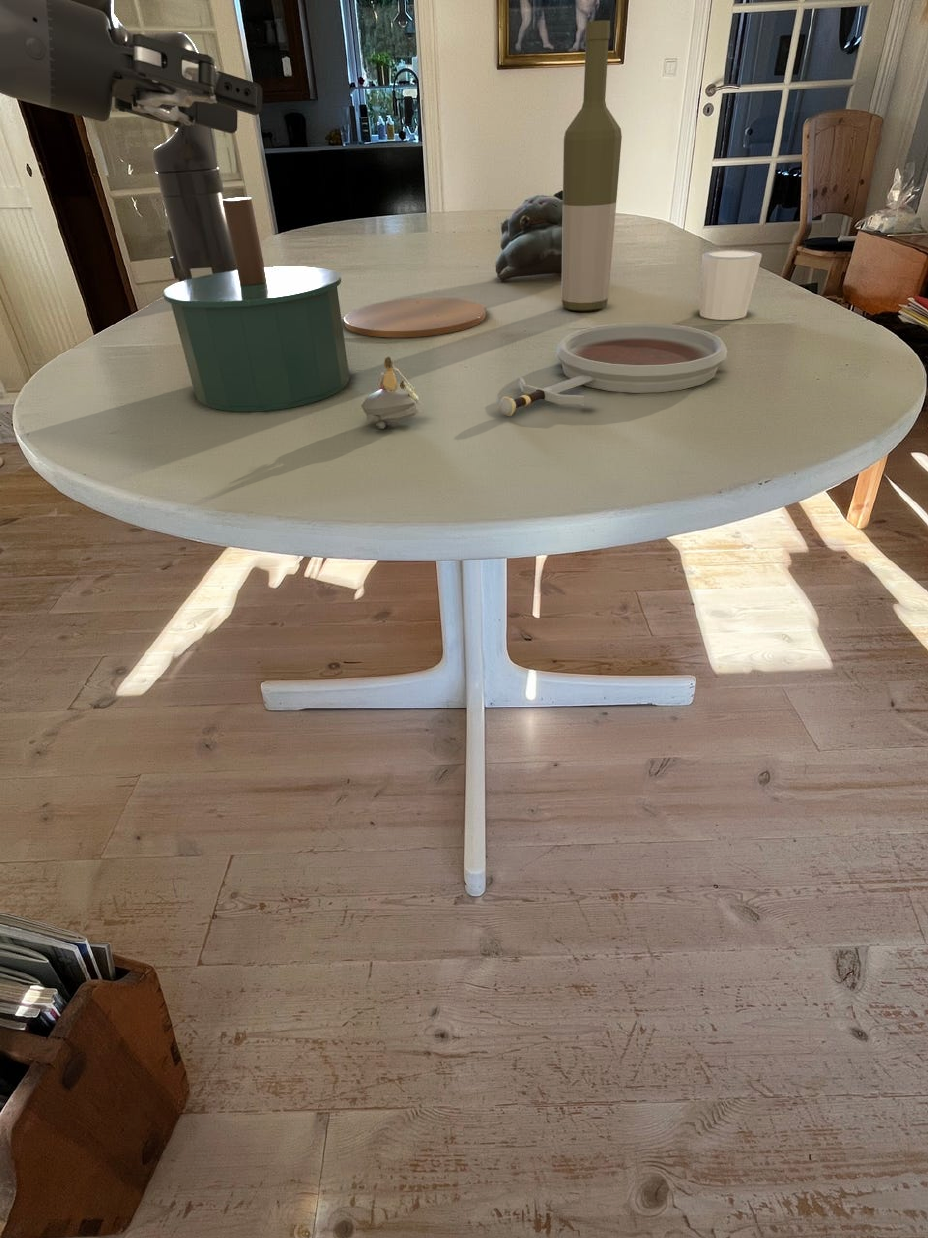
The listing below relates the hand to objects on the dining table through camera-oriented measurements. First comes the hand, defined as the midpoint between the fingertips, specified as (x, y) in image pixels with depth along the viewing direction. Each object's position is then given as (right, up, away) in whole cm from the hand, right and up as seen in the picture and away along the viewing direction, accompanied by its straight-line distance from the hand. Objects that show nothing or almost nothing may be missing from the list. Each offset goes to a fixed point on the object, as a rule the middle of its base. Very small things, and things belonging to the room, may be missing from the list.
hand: (248, 111), depth 65 cm
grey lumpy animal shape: (+31, +9, +51) cm, 61 cm away
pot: (0, -22, +10) cm, 24 cm away
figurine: (+13, -29, -1) cm, 32 cm away
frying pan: (+34, -23, +6) cm, 41 cm away
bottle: (+36, -4, +32) cm, 48 cm away
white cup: (+53, -8, +26) cm, 59 cm away
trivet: (+13, -6, +31) cm, 34 cm away
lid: (-1, -14, +4) cm, 15 cm away
